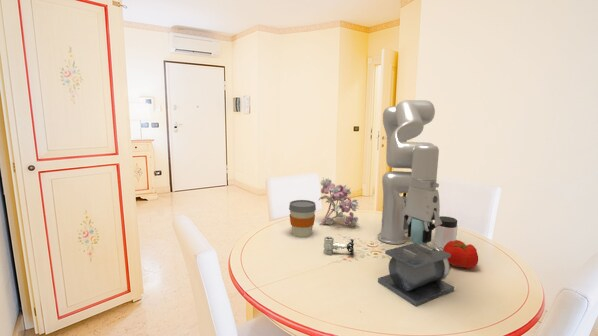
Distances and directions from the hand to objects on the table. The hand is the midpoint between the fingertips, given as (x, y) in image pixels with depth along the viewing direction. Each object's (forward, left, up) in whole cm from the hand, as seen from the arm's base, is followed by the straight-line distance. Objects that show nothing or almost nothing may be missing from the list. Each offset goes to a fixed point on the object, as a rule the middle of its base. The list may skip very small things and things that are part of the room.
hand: (419, 238), depth 104 cm
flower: (-16, -61, -17) cm, 65 cm away
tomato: (-28, -3, -17) cm, 33 cm away
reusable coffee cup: (+9, -59, -17) cm, 62 cm away
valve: (+7, -33, -17) cm, 38 cm away
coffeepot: (-42, -44, -17) cm, 63 cm away
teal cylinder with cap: (0, 0, -1) cm, 1 cm away
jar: (-40, -18, -17) cm, 47 cm away
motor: (0, 0, -17) cm, 17 cm away
